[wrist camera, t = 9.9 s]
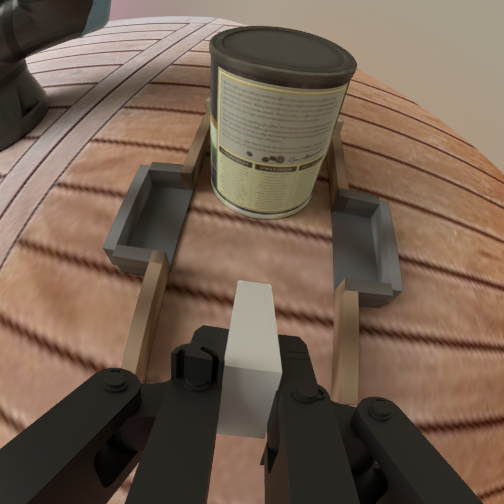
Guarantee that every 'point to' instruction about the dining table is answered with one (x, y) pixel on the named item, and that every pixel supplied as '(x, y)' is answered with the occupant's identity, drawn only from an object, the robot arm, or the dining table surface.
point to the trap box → (169, 229)
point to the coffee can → (273, 116)
